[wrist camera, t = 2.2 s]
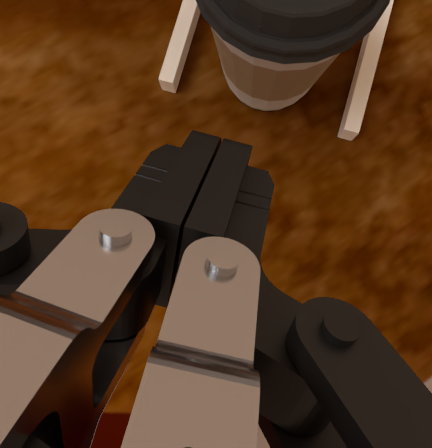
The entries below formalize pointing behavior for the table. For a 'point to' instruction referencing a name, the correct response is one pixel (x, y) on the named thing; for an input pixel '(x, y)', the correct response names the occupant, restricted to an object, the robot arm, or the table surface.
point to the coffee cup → (284, 43)
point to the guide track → (358, 86)
